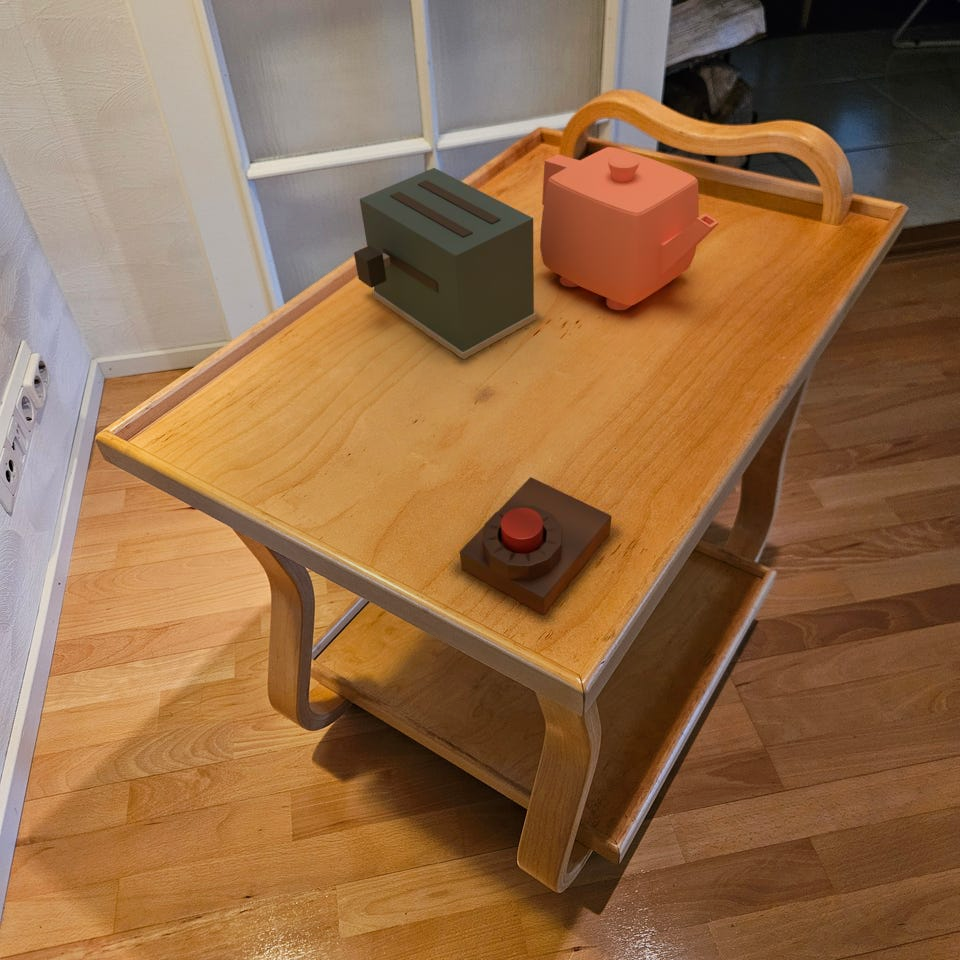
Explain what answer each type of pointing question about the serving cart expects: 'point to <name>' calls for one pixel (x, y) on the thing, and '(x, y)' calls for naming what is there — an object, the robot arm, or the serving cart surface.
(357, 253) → the slider
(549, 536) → the switch block
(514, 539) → the power button
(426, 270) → the toaster
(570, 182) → the teapot
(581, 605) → the serving cart surface
